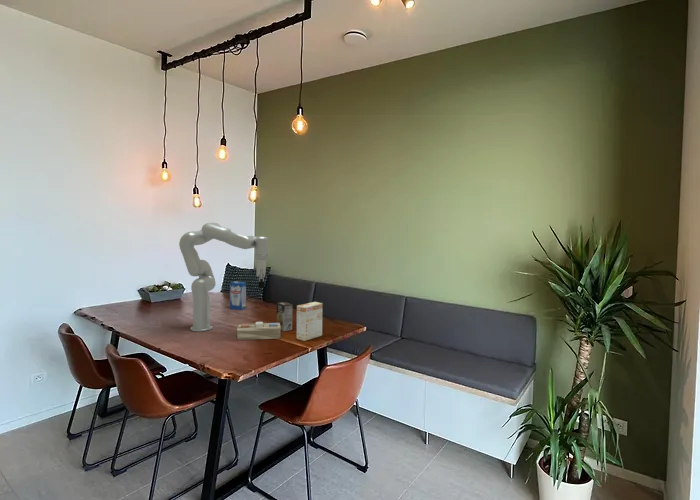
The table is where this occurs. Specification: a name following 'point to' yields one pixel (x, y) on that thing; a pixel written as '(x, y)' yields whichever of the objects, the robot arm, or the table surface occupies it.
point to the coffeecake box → (309, 321)
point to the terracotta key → (245, 326)
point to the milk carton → (238, 295)
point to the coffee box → (284, 315)
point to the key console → (258, 332)
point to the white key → (259, 324)
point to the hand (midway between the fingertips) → (261, 287)
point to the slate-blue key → (273, 324)
